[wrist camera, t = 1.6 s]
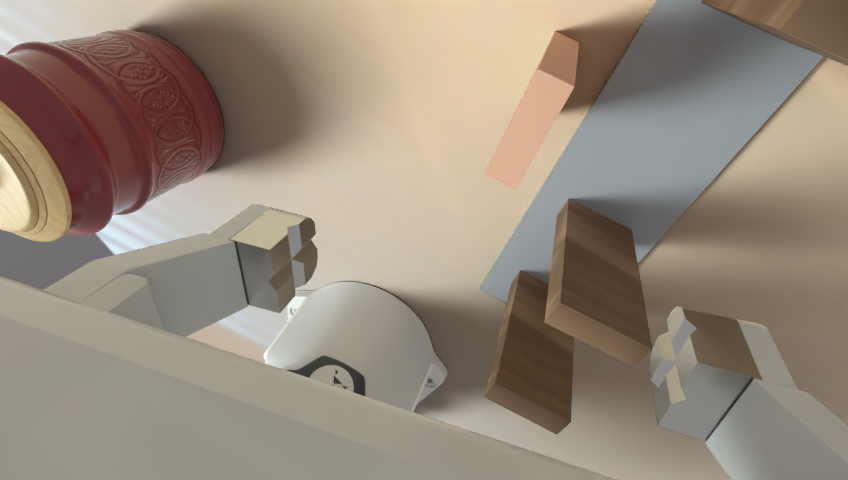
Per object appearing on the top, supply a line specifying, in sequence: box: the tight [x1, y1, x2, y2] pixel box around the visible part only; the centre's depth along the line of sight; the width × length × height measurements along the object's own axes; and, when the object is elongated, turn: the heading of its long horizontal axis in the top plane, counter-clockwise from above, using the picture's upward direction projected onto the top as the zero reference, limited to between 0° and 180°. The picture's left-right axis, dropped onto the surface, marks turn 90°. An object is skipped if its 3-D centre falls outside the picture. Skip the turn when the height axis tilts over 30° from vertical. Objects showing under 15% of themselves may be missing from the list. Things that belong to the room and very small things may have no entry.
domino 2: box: [484, 270, 574, 434], centre depth 31 cm, size 2×5×12 cm, turn 69°
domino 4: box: [701, 0, 848, 65], centre depth 18 cm, size 2×5×12 cm, turn 69°
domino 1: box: [484, 31, 579, 189], centre depth 23 cm, size 2×5×12 cm, turn 160°
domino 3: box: [544, 199, 652, 367], centre depth 27 cm, size 2×5×12 cm, turn 69°
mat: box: [479, 0, 824, 303], centre depth 27 cm, size 36×9×1 cm, turn 159°
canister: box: [0, 30, 224, 242], centre depth 32 cm, size 13×13×18 cm
